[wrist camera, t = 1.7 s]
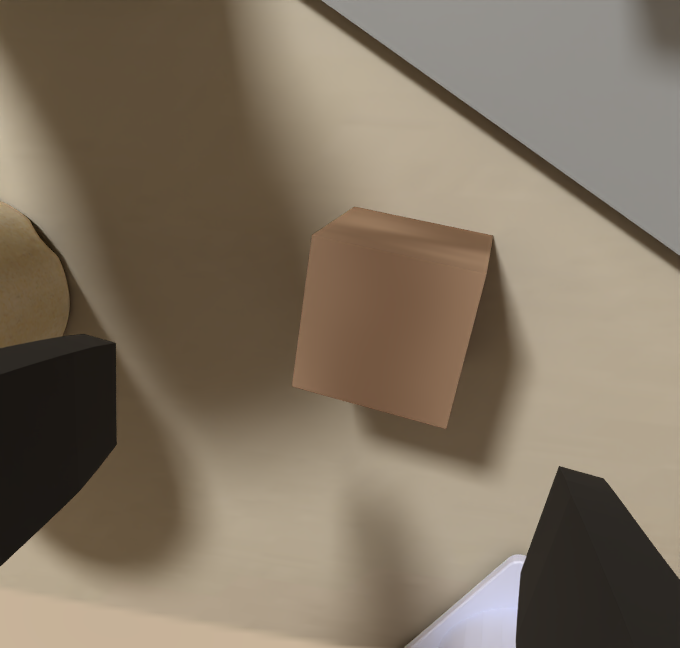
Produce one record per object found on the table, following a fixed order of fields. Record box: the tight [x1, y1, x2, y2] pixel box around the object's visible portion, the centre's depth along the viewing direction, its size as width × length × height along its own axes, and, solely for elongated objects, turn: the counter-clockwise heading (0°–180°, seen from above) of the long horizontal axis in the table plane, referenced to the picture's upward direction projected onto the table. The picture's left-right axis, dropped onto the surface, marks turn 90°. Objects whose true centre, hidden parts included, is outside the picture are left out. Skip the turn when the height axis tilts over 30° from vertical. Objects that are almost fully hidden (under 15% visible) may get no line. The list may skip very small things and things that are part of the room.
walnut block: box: [292, 207, 493, 429], centre depth 16 cm, size 4×4×4 cm
